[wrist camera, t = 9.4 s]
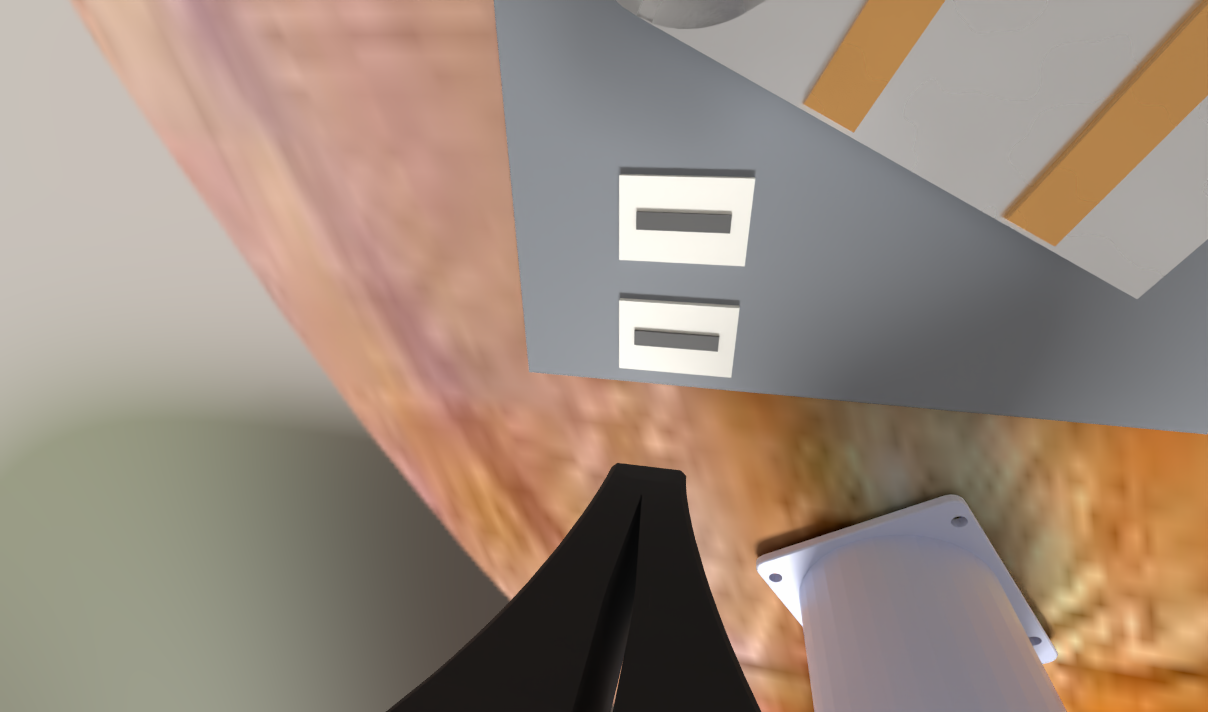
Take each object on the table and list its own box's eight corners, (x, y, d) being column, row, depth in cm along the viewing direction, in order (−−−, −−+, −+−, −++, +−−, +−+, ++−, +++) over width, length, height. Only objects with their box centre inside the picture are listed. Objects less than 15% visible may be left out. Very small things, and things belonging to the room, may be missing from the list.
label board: (1606, -261, 9) (1727, -304, 8) (1181, 413, 16) (1215, 440, 15) (493, -160, 13) (471, -181, 11) (537, 358, 19) (526, 376, 18)
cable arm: (549, -35, 12) (521, -50, 11) (652, -347, 10) (637, -432, 8) (1094, 273, 13) (1149, 306, 11) (1321, 65, 11) (1437, 66, 9)
